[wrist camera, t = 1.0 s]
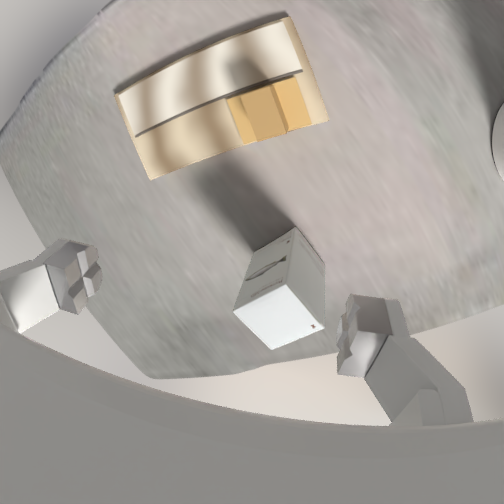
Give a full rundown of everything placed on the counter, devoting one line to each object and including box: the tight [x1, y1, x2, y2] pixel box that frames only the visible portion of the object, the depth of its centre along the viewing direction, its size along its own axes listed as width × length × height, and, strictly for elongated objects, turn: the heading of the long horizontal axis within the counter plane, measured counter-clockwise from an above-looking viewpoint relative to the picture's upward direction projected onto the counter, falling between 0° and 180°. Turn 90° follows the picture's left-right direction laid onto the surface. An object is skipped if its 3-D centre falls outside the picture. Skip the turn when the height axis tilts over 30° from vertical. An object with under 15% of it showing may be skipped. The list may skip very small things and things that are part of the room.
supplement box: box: [233, 227, 325, 350], centre depth 37 cm, size 7×7×13 cm
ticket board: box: [114, 16, 329, 180], centre depth 33 cm, size 24×13×2 cm, turn 111°
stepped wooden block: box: [227, 77, 312, 145], centre depth 30 cm, size 8×6×5 cm
